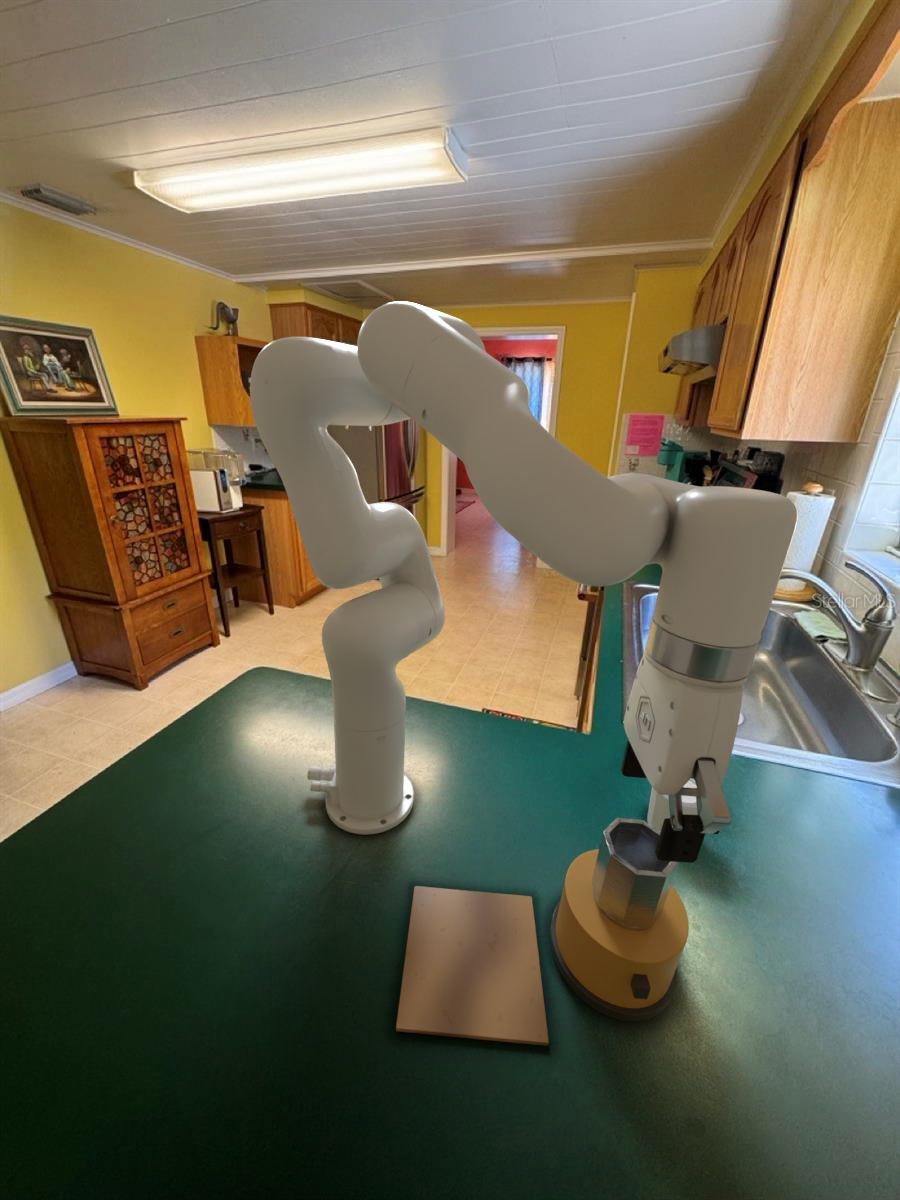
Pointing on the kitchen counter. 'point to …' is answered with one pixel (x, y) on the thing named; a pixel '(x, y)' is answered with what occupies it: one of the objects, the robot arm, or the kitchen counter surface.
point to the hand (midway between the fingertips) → (653, 812)
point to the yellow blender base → (615, 950)
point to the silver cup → (631, 875)
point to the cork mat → (472, 968)
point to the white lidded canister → (661, 806)
